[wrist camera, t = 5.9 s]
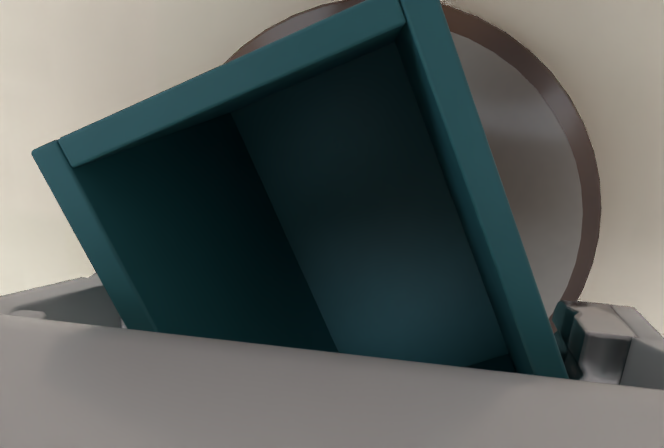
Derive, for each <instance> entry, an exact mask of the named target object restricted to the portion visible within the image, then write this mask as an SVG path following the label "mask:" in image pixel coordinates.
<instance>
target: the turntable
mask: <svg viewBox="0 0 664 448" xmlns="http://www.w3.org/2000/svg"><path fill="white" fill-rule="evenodd" d="M363 1H365V0H343V1H338V2H333V3H329V4H324V5H320V6H317V7H315V8H312V9H309V10H306V11H304V12H301V13H298V14H295V15H293V16H291V17H289V18H287V19H285V20H283V21H281V22H279V23H277V24H275V25H273V26H272V27H270V28H268V29H266V30H264V31H263V32H262V33H260V34H259V35H257V36H256V37H255V38H253V39H252V40H250V41H249V42H248V43H246V44H245V45H243V46H242V47H241V48H240V49H239V50H238V51H237V52H236V53H235V54H233V55H232V56H231V57H230V58H229V59H228V60H227V61H226V62H225V63H228V62H230V61H232V60H234V59H236V58H239V57H241V56H243V55H245V54H248V53H250V52H252V51H254V50H256V49H259V48H261V47H263V46H265V45H268V44H270V43H272V42H274V41H276V40H279V39H281V38H283V37H285V36H288V35H290V34H292V33H294V32H296V31H299V30H301V29H303V28H305V27H308V26H310V25H312V24H314V23H316V22H319V21H321V20H323V19H325V18H328V17H330V16H332V15H334V14H336V13H339V12H341V11H343V10H345V9H348V8H350V7H352V6H354V5H356V4H359V3H361V2H363ZM441 6H442V9H443V12H444V15H445V18H446V21H447V23H448V26H449V29H450V32H451V35H452V38H453V41H454V44H455V47H456V50H457V53H458V56H459V59H460V61H461V64H462V67H463V70H464V73H465V76H466V79H467V82H468V85H469V88H470V91H471V94H472V97H473V99H474V102H475V105H476V108H477V111H478V114H479V117H480V120H481V123H482V126H483V129H484V132H485V135H486V137H487V140H488V143H489V146H490V149H491V152H492V155H493V158H494V161H495V164H496V167H497V170H498V173H499V175H500V178H501V181H502V184H503V187H504V190H505V193H506V196H507V199H508V202H509V205H510V208H511V211H512V213H513V216H514V219H515V222H516V225H517V228H518V231H519V234H520V237H521V240H522V243H523V246H524V249H525V251H526V254H527V257H528V260H529V263H530V266H531V269H532V272H533V275H534V278H535V281H536V284H537V287H538V289H539V292H540V295H541V298H542V301H543V304H544V307H545V310H546V313H547V316H548V319H549V322H550V325H551V327H552V330H553V333H555V332H556V331H557V329H556V327H555V325H554V323H553V321H552V318H553V313H554V309H555V307H556V305H557V302H559V301H562V300H567V301H577V300H578V298H579V296H580V294H581V292H582V290H583V288H584V285H585V283H586V280H587V277H588V275H589V272H590V269H591V267H592V264H593V260H594V256H595V251H596V247H597V242H598V238H599V229H600V217H601V195H600V179H599V174H598V169H597V164H596V159H595V154H594V150H593V147H592V145H591V142H590V139H589V136H588V134H587V131H586V128H585V125H584V123H583V121H582V119H581V117H580V115H579V113H578V112H577V110H576V108H575V106H574V104H573V102H572V100H571V98H570V97H569V95H568V94H567V93H566V91H565V90H564V89H563V87H562V86H561V85H560V83H559V82H558V80H557V79H556V78H555V76H554V75H553V74H552V72H551V71H550V70H549V69H548V68H547V67H546V66H545V65H544V64H543V63H542V62H541V61H540V60H539V59H538V58H537V57H536V56H535V55H534V54H533V53H532V52H531V51H530V50H528V49H527V48H526V47H524V46H523V45H522V44H520V43H519V42H518V41H516V40H515V39H514V38H512V37H511V36H510V35H508V34H507V33H506V32H504V31H502V30H501V29H499V28H497V27H495V26H493V25H491V24H490V23H488V22H486V21H484V20H482V19H480V18H479V17H477V16H474V15H471V14H469V13H466V12H463V11H461V10H458V9H455V8H453V7H450V6H447V5H442V4H441ZM225 63H224V64H225Z"/></svg>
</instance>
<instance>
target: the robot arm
mask: <svg viewBox="0 0 664 448" xmlns="http://www.w3.org/2000/svg"><path fill="white" fill-rule="evenodd" d="M552 321H553V323H554V325H555V327H556V329H557V331H556V332H555V333H554V336H555V339H556V342H557V345H558V348H559V351H560V354H561V357H562V360H563V363H564V365H565V368H566V371H567V374H568V377H569V379H564V378H555V377H546V376H537V375H529V374H520V373H511V372H502V371H494V370H485V369H476V368H467V367H458V366H450V365H441V364H432V363H423V362H414V361H406V360H397V359H388V358H379V357H371V356H362V355H353V354H344V353H335V352H327V351H318V350H309V349H300V348H291V347H283V346H274V345H265V344H256V343H247V342H239V341H230V340H221V339H212V338H204V337H195V336H186V335H177V334H168V333H160V332H151V331H142V330H133V329H127V328H126V326H125V324H124V322H123V320H122V319H121V317H120V315H119V313H118V311H117V310H116V308H115V306H114V304H113V302H112V300H111V299H110V297H109V295H108V293H107V291H106V289H105V288H104V286H103V284H102V282H101V280H100V278H99V277H98V275H97V273H94V274H93V275H92V276H90V277H89V278H82V277H81V278H77V279H72V280H68V281H64V282H59V283H55V284H51V285H46V286H42V287H38V288H33V289H29V290H25V291H20V292H16V293H12V294H7V295H3V296H0V448H664V337H663V336H662V335H661V334H660V333H659V332H658V331H657V330H656V329H655V328H654V327H653V326H652V325H651V324H650V323H649V322H648V321H647V320H646V319H645V318H644V317H643V316H642V315H641V314H640V313H639V312H638V311H637V310H636V309H635V308H634V307H630V306H618V305H609V304H602V303H591V302H579V301H567V300H562V301H559V302H557V305H556V307H555V309H554V313H553V318H552Z"/></svg>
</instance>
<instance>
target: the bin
mask: <svg viewBox="0 0 664 448" xmlns="http://www.w3.org/2000/svg"><path fill="white" fill-rule="evenodd" d="M31 153H32V156H33V158H34V160H35V162H36V163H37V165H38V167H39V169H40V171H41V173H42V174H43V176H44V178H45V180H46V182H47V184H48V185H49V187H50V189H51V191H52V193H53V194H54V196H55V198H56V200H57V202H58V204H59V205H60V207H61V209H62V211H63V213H64V215H65V216H66V218H67V220H68V222H69V224H70V226H71V227H72V229H73V231H74V233H75V235H76V236H77V238H78V240H79V242H80V244H81V246H82V247H83V249H84V251H85V253H86V255H87V257H88V258H89V260H90V262H91V264H92V266H93V268H94V269H95V271H96V273H97V275H98V277H99V278H100V280H101V282H102V284H103V286H104V288H105V289H106V291H107V293H108V295H109V297H110V299H111V300H112V302H113V304H114V306H115V308H116V310H117V311H118V313H119V315H120V317H121V319H122V320H123V322H124V324H125V326H126V328H127V329H133V330H142V331H151V332H160V333H168V334H177V335H186V336H195V337H204V338H212V339H221V340H230V341H239V342H247V343H256V344H265V345H274V346H283V347H291V348H300V349H309V350H318V351H327V352H335V353H344V354H353V355H362V356H371V357H379V358H388V359H397V360H406V361H414V362H423V363H432V364H441V365H450V366H458V367H467V368H476V369H485V370H494V371H502V372H511V373H520V374H529V375H537V376H546V377H555V378H564V379H569V377H568V374H567V371H566V368H565V365H564V363H563V360H562V357H561V354H560V351H559V348H558V345H557V342H556V339H555V336H554V333H553V330H552V327H551V325H550V322H549V319H548V316H547V313H546V310H545V307H544V304H543V301H542V298H541V295H540V292H539V289H538V287H537V284H536V281H535V278H534V275H533V272H532V269H531V266H530V263H529V260H528V257H527V254H526V251H525V249H524V246H523V243H522V240H521V237H520V234H519V231H518V228H517V225H516V222H515V219H514V216H513V213H512V211H511V208H510V205H509V202H508V199H507V196H506V193H505V190H504V187H503V184H502V181H501V178H500V175H499V173H498V170H497V167H496V164H495V161H494V158H493V155H492V152H491V149H490V146H489V143H488V140H487V137H486V135H485V132H484V129H483V126H482V123H481V120H480V117H479V114H478V111H477V108H476V105H475V102H474V99H473V97H472V94H471V91H470V88H469V85H468V82H467V79H466V76H465V73H464V70H463V67H462V64H461V61H460V59H459V56H458V53H457V50H456V47H455V44H454V41H453V38H452V35H451V32H450V29H449V26H448V23H447V21H446V18H445V15H444V12H443V9H442V6H441V3H440V0H365V1H363V2H361V3H359V4H356V5H354V6H352V7H350V8H348V9H345V10H343V11H341V12H339V13H336V14H334V15H332V16H330V17H328V18H325V19H323V20H321V21H319V22H316V23H314V24H312V25H310V26H308V27H305V28H303V29H301V30H299V31H296V32H294V33H292V34H290V35H288V36H285V37H283V38H281V39H279V40H276V41H274V42H272V43H270V44H268V45H265V46H263V47H261V48H259V49H256V50H254V51H252V52H250V53H248V54H245V55H243V56H241V57H239V58H236V59H234V60H232V61H230V62H228V63H225V64H223V65H221V66H219V67H216V68H214V69H212V70H210V71H208V72H205V73H203V74H201V75H199V76H196V77H194V78H192V79H190V80H188V81H185V82H183V83H181V84H179V85H176V86H174V87H172V88H170V89H168V90H165V91H163V92H161V93H159V94H156V95H154V96H152V97H150V98H148V99H145V100H143V101H141V102H139V103H136V104H134V105H132V106H130V107H128V108H125V109H123V110H121V111H119V112H116V113H114V114H112V115H110V116H108V117H105V118H103V119H101V120H99V121H96V122H94V123H92V124H90V125H88V126H85V127H83V128H81V129H79V130H76V131H74V132H72V133H70V134H68V135H65V136H63V137H61V138H60V139H58V140H54V141H52V142H50V143H48V144H45V145H43V146H41V147H39V148H36V149H34V150H33V151H32V152H31Z"/></svg>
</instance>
